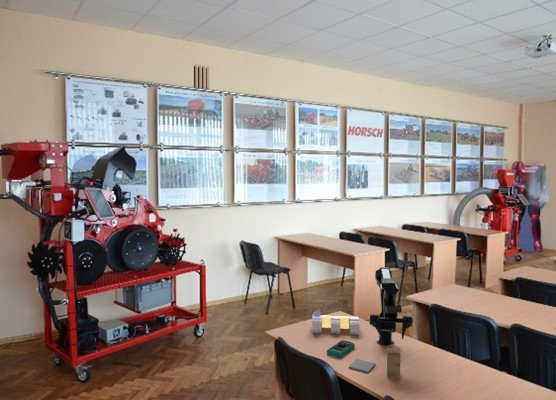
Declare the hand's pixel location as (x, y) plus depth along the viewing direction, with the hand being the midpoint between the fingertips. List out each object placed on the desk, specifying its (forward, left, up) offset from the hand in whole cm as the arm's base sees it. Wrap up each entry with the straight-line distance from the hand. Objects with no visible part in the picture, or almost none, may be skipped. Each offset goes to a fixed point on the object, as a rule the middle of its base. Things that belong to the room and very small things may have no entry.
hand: (391, 338), depth 186 cm
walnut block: (+6, +5, -13) cm, 15 cm away
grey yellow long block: (-15, -45, -14) cm, 50 cm away
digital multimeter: (+3, -26, -14) cm, 30 cm away
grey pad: (+9, -9, -13) cm, 18 cm away
